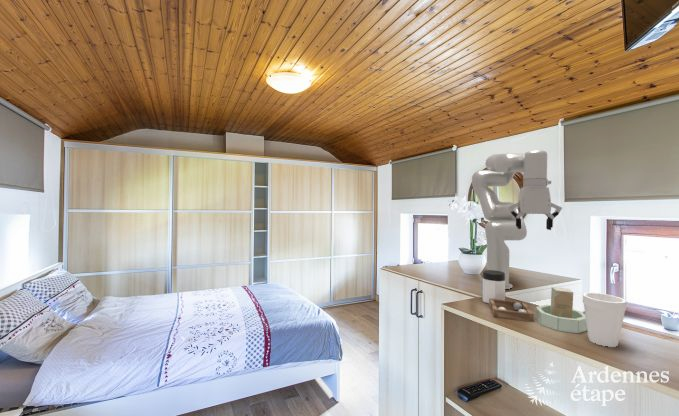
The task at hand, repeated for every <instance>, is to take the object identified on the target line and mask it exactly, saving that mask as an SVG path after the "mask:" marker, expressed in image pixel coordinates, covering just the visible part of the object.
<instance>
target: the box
mask: <svg viewBox="0 0 679 416" xmlns="http://www.w3.org/2000/svg"><path fill="white" fill-rule="evenodd" d="M550 293H551V295H550V296H551V297H550V298H551V299H550V305H551V312H550V314H551V315H554V316H557V317H564V318H572V310H573V309H574V308H573V307H574V306H573V305H574V292H573V291H572V290H571V289H570V288H568V287H565V288H564V287H555V286H552V287H551V292H550Z"/></svg>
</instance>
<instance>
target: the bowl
mask: <svg viewBox="0 0 679 416" xmlns="http://www.w3.org/2000/svg"><path fill="white" fill-rule="evenodd" d="M550 312H551V304H543V305H538V306H536V307H535V319H536V321H537V323H539V324H540V325H541V326H544V327H546V328H549V329H552V330H554V331H558V332H566V333H574V334H580V333H583V332H586V331H587V323H586V316H585V313H583V312H582V311H580V310H577V309H574V308H573V310H572V318H564V317H557V316H554V315H551V314H550ZM587 332H588V331H587Z"/></svg>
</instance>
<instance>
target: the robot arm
mask: <svg viewBox="0 0 679 416" xmlns="http://www.w3.org/2000/svg"><path fill="white" fill-rule="evenodd" d="M485 168H486V169H485V170H484V169H482V170H476V171H475V172H474V173H473V174H472V176H471V187H472V189H473V192H474V193H475V195H476V197H477V199H478V200H479V203H480V207H481V210H482V214H483V216H484V219H485V220H486V221H488V222H486V224H485V227H484V232H485V233H484V234H485V239H486V270H495V271H501V272H504V273H505V289H509V290H511V289H510V288H512V287H514V286H513V284H512V283H510V249H509V247H508V245H507V244H506V243H505V241H522V240H524V239H526V237H527V232H528V231H527V226H526V223H525V221H524V218H523V215H524V214H525V215H526V214H528V215H529V214H530V215H534V214H535V215H545V216H546V217H547V218H546V230H547V231H552V228H553V227H554V219H555V218H556V217H557V216H558V215H559V214H560V212H561V211H562V210H563V207H562V206H559V205H557V204H555V203H552V199H551V198H552V197H551V192H550V188H549V187H548V185H552V180H549V179H548V152H547V151H546V150H541V149H539V150H538V149H537V150H529V151H526V152H524V153H508V152H506V153H496V154H492V155H490V156H489V157H487V159H486V160H485ZM516 173H522V177H523V179H522V187H520V188H519V193H518V194H519V195H518V202H516V203H515V202H512V201H511V202H510V201H500V200H499V197H498V195H497V193H496V192H495V191H494V190H492V189H491V188H490V187H505V186H507V185H509V184H510V183H511V181H512V180H513V178H514V176H515V175H516ZM552 208H554V209H555V211H554V212H553V213H551V211H552ZM512 289H513V288H512Z"/></svg>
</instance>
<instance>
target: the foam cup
mask: <svg viewBox="0 0 679 416" xmlns="http://www.w3.org/2000/svg"><path fill="white" fill-rule="evenodd" d="M582 303H583V308H584V314H585V316H586V323H587V336H588V340H589V341H590V342H591V343H593V344H595V343H596V345H598V346H601V345H602V346H601V347H605V346H608V347H607V348H616V346H617V347H618V345H619V341H620V337H621V332H622V328H623V324H624V323H623V322H624V317H625V314H626V310H627V300H625V299H624V298H622V297H620V296H615V295H612V294H609V293H607V294H606V293H601V292H585V293H582Z"/></svg>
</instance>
